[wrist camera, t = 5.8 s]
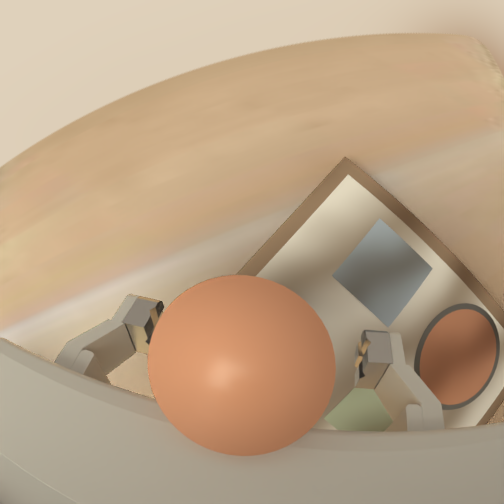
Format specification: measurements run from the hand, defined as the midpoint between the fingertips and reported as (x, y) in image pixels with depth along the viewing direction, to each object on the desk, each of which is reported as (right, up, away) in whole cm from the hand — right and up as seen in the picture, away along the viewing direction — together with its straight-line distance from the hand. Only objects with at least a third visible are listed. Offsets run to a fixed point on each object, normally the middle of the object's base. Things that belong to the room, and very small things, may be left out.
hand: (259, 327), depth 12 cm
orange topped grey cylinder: (+1, -2, +7) cm, 7 cm away
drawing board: (+9, -4, +7) cm, 12 cm away
